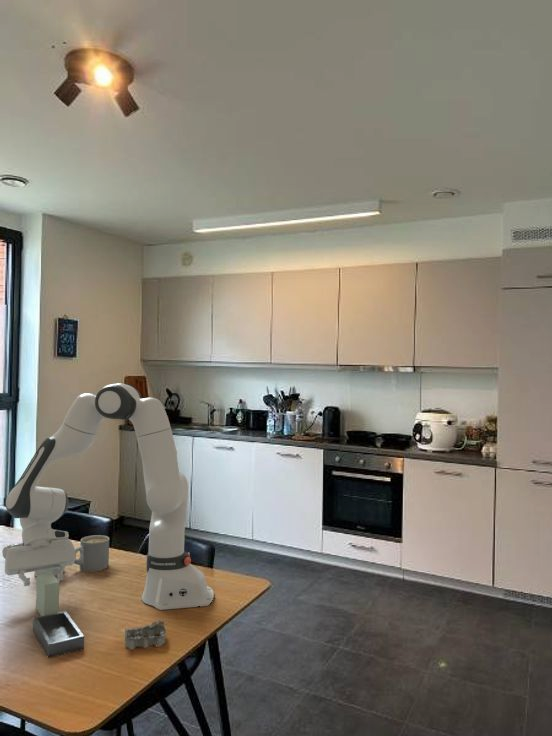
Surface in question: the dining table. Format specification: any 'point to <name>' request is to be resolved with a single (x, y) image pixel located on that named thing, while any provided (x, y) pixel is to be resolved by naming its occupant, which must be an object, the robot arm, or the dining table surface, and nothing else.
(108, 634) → the dining table surface
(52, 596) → the sage green slab
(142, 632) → the egg carton
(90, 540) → the coffee mug
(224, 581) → the dining table surface
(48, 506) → the robot arm
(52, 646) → the grey rectangular tray
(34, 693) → the dining table surface
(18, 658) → the dining table surface
